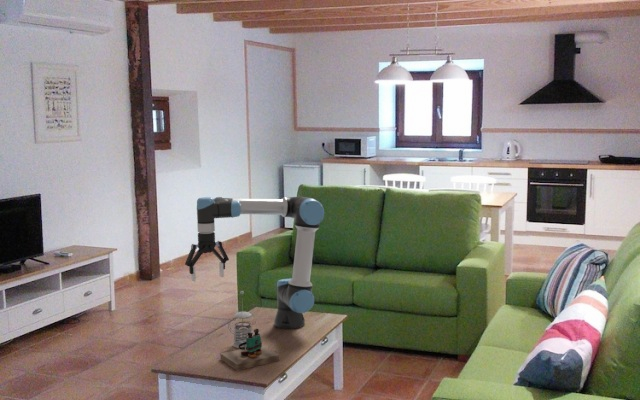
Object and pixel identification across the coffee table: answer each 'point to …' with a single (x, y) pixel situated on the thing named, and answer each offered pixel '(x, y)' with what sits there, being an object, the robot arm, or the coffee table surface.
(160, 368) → the coffee table surface
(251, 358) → the walnut stand
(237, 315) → the white plunger jar
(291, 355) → the coffee table surface
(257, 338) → the binoculars
